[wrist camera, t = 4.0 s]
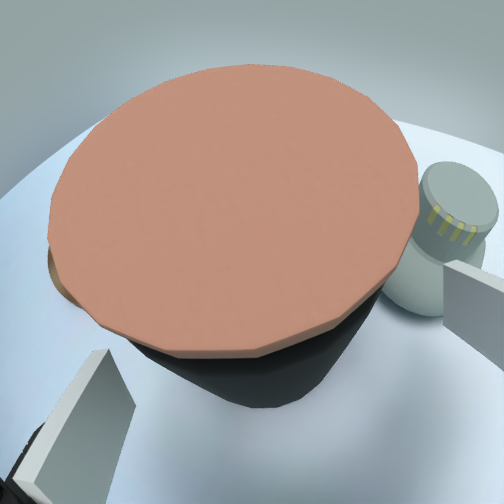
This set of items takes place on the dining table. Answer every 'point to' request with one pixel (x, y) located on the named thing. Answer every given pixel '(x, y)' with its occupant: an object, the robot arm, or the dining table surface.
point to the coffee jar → (237, 225)
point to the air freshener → (442, 235)
